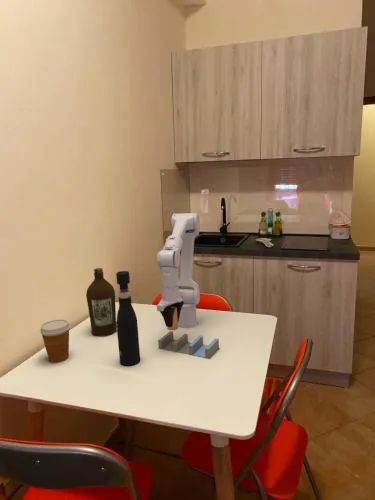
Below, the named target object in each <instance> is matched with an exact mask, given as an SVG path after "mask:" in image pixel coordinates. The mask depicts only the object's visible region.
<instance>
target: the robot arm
mask: <svg viewBox="0 0 375 500" xmlns="http://www.w3.org/2000/svg"><path fill="white" fill-rule="evenodd" d="M171 227H172V233H171V235H169V236H167V238H166V241H165V243H164V245H163V248H162V249H161V250H160V251H158V252H157V255H156V264H157V267H158V272H159V273H160V284H161V297H162V298H161V299H160V300H159V303H158V304H156V311H158V312H159V313H160V314H161V316H162V319H163V321H164V324H165V327H166V328H167V327H172V326H173V315H174V311H175V308H171V307H176V308H177V320H178V328H182V329H190V328H192V329H193V328H194V327H196V326H197V325H201V322H198V321H197V305H198V304H199V303H200V297H201V296H200V293H201V292H200V286H199V284H198V283H197V282H196V281H195V280H193V271H194V248H195V247H194V246H195V239H196V237H198V236H199V234H200V215H199V213H198V212H192V213H191V212H189V213H188V212H187V213H177V212H174V213H173V214H172V215H171ZM179 266H180V271H179V270H178V269H179V268H178V267H179Z"/></svg>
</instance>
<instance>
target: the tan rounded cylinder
mask: <svg viewBox="0 0 375 500" xmlns="http://www.w3.org/2000/svg"><path fill="white" fill-rule="evenodd" d="M171 308H175V311H174V315H173V326H172V327H166V329H167V330H168V331H176V330H178V329H179V327H178V320H177V308H176V307H171Z"/></svg>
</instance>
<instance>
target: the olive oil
mask: <svg viewBox="0 0 375 500" xmlns="http://www.w3.org/2000/svg"><path fill="white" fill-rule="evenodd" d="M93 271H94V273H93V276H94V279H93V281H92V282H91V283H90V284H89V286H88V287H87V289H86V296H85V297H86V303H87V308H88V314H89V321H90V329H91V333H92V335H93V336H95V337H107V336H111V335H113V334H115V333H117V324H116V322H117V311H116V291H115V288H114V286H113V284H111V283H110V282H109V281H108V280H107V279H105V278H104V277H105V276H104V270H103V267H97V268H94V269H93Z"/></svg>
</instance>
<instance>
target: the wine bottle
mask: <svg viewBox="0 0 375 500" xmlns="http://www.w3.org/2000/svg"><path fill="white" fill-rule="evenodd" d="M115 275H116V284H117V285H119V293H118V296H119V297H118V311H117V312H116V326H117V330H116V333H117V342H118V343H117V345H118V354H119V355H118V356H119V364H120V365H121V366H122V367H134V366H137V365H139V364H140V362H141V352H140V349H141V348H140V339H139V326H138V318H137V315H136V311H135V309H134V307H133V305H132V296H131V294H130V293H131V292H130V290H129V284H130V283H131V280H130V271H127V270H122V271H117V272H116V274H115Z"/></svg>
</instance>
